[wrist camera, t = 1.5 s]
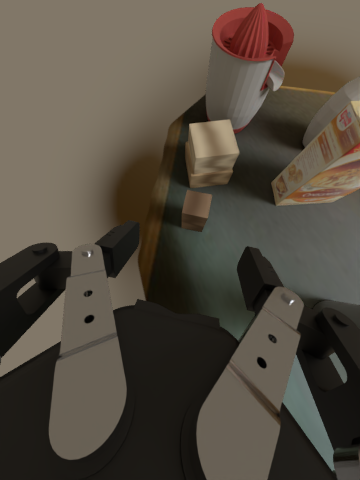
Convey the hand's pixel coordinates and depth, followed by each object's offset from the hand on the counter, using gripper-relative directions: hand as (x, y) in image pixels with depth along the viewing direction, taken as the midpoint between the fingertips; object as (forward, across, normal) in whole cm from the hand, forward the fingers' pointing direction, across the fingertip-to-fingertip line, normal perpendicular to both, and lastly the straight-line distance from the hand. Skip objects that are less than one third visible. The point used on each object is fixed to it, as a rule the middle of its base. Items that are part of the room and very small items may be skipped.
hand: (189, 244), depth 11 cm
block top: (+33, -1, -5) cm, 33 cm away
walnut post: (+26, 0, +9) cm, 27 cm away
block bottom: (+36, -1, -2) cm, 37 cm away
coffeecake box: (+35, -26, -1) cm, 44 cm away
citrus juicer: (+49, -4, -14) cm, 51 cm away
